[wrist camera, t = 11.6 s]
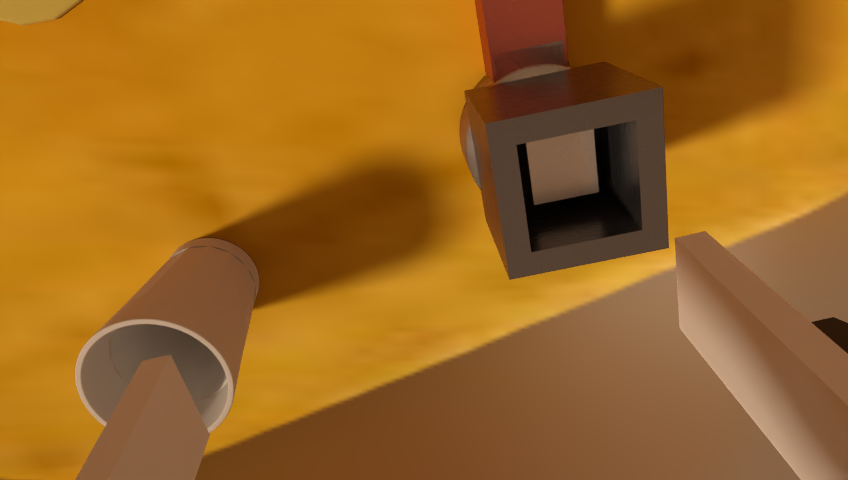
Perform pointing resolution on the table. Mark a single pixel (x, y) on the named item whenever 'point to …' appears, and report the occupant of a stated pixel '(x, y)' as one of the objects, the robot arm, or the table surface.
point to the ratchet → (522, 58)
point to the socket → (615, 157)
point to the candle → (34, 10)
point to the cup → (178, 330)
